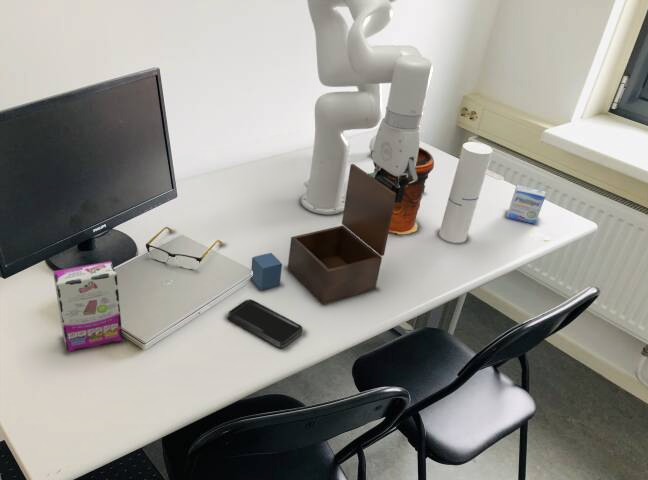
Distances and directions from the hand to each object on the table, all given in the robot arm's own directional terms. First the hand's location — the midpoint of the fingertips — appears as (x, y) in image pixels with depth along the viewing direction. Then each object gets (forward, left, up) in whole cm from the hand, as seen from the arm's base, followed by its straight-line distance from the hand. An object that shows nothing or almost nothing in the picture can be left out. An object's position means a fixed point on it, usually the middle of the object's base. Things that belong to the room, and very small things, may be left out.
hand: (387, 195), depth 148 cm
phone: (+9, -35, -20) cm, 41 cm away
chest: (0, -12, -20) cm, 23 cm away
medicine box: (-4, +56, -20) cm, 59 cm away
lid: (0, -5, -3) cm, 6 cm away
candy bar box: (-1, -69, -20) cm, 72 cm away
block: (-5, -27, -20) cm, 34 cm away
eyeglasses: (-24, -39, -20) cm, 50 cm away
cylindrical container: (-4, +30, -20) cm, 36 cm away
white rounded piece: (-52, +43, -20) cm, 70 cm away
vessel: (-16, +19, -20) cm, 32 cm away
